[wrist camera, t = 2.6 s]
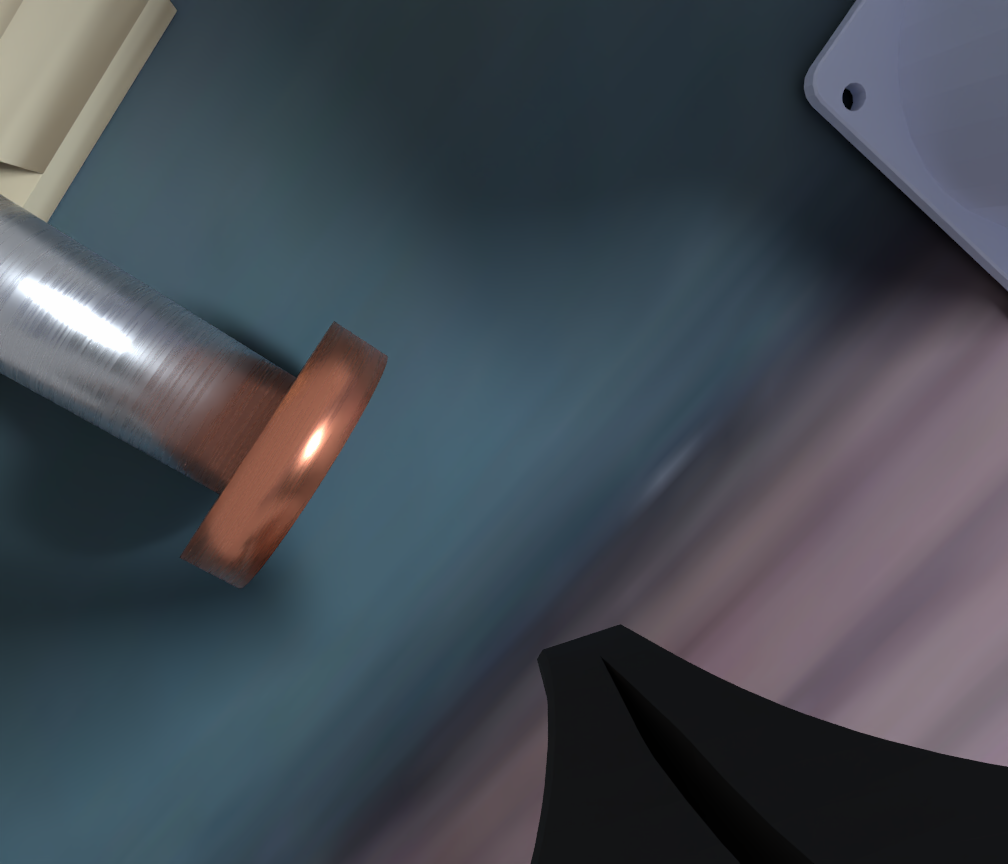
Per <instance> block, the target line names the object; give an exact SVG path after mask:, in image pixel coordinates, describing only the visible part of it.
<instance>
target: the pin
mask: <svg viewBox="0 0 1008 864" xmlns="http://www.w3.org/2000/svg"><path fill="white" fill-rule="evenodd" d="M386 363H387V356H386V355H385V354H383V353H382V352H380V351H379V350H377V349H376V348H374V347H373V346H371V345H370V344H368V343H367V342H365V341H363V340H362V339H360V338H359V337H357V336H356V335H354V334H353V333H351V332H350V331H348V330H347V329H345V328H344V327H342V326H341V325H339V324H338V323H336V322H333V323H332V325H331V326H330V328H329V329H328V331H327V332H326V334H325V335H324V337H323V338H322V340H321V341H320V343H319V344H318V346H317V347H316V349H315V350H314V352H313V353H312V355H311V356H310V358H309V359H308V361H307V362H306V364H305V365H304V367H303V368H302V370H301V371H300V373H299V374H298V376H297V377H294V376H293V375H291V374H290V373H288V372H286V371H285V370H283V369H281V368H280V367H278V366H277V365H275V364H273V363H272V362H270V361H269V360H267V359H265V358H264V357H262V356H261V355H259V354H257V353H256V352H254V351H252V350H251V349H249V348H248V347H246V346H244V345H243V344H241V343H240V342H238V341H236V340H235V339H233V338H232V337H230V336H228V335H227V334H225V333H223V332H222V331H220V330H219V329H217V328H215V327H214V326H212V325H211V324H209V323H207V322H206V321H204V320H203V319H201V318H199V317H198V316H196V315H194V314H193V313H191V312H190V311H188V310H186V309H185V308H183V307H182V306H180V305H178V304H177V303H175V302H174V301H172V300H170V299H169V298H167V297H165V296H164V295H162V294H161V293H159V292H157V291H156V290H154V289H153V288H151V287H149V286H148V285H146V284H145V283H143V282H141V281H140V280H138V279H136V278H135V277H133V276H132V275H130V274H128V273H127V272H125V271H124V270H122V269H120V268H119V267H117V266H116V265H114V264H112V263H111V262H109V261H108V260H106V259H104V258H103V257H101V256H99V255H98V254H96V253H95V252H93V251H91V250H90V249H88V248H87V247H85V246H83V245H82V244H80V243H79V242H77V241H75V240H74V239H72V238H70V237H69V236H67V235H66V234H64V233H62V232H61V231H59V230H58V229H56V228H54V227H53V226H51V225H50V224H48V223H46V222H45V221H43V220H41V219H40V218H38V217H37V216H35V215H33V214H32V213H30V212H29V211H27V210H25V209H24V208H22V207H21V206H19V205H17V204H16V203H14V202H12V201H11V200H9V199H8V198H6V197H4V196H3V195H1V194H0V373H1V374H3V375H5V376H7V377H9V378H10V379H12V380H14V381H16V382H18V383H19V384H21V385H23V386H25V387H27V388H28V389H30V390H32V391H34V392H36V393H38V394H39V395H41V396H43V397H45V398H47V399H48V400H50V401H52V402H54V403H56V404H57V405H59V406H61V407H63V408H65V409H66V410H68V411H70V412H72V413H74V414H75V415H77V416H79V417H81V418H83V419H85V420H86V421H88V422H90V423H92V424H94V425H95V426H97V427H99V428H101V429H103V430H104V431H106V432H108V433H110V434H112V435H113V436H115V437H117V438H119V439H121V440H122V441H124V442H126V443H128V444H130V445H132V446H133V447H135V448H137V449H139V450H141V451H142V452H144V453H146V454H148V455H150V456H151V457H153V458H155V459H157V460H159V461H160V462H162V463H164V464H166V465H168V466H169V467H171V468H173V469H175V470H177V471H179V472H180V473H182V474H184V475H186V476H188V477H189V478H191V479H193V480H195V481H197V482H198V483H200V484H202V485H204V486H206V487H207V488H209V489H211V490H213V491H215V492H216V493H218V494H220V495H219V497H218V498H217V500H216V501H215V503H214V504H213V506H212V507H211V509H210V511H209V512H208V514H207V515H206V517H205V518H204V520H203V521H202V523H201V524H200V526H199V528H198V529H197V531H196V532H195V534H194V535H193V537H192V538H191V540H190V542H189V543H188V545H187V546H186V548H185V549H184V551H183V553H182V554H181V556H180V557H179V558H181V559H183V560H185V561H187V562H189V563H191V564H193V565H195V566H197V567H199V568H201V569H203V570H204V571H206V572H208V573H210V574H212V575H214V576H216V577H218V578H220V579H222V580H224V581H226V582H228V583H230V584H231V585H233V586H235V587H237V588H239V589H241V588H243V587H244V586H245V585H247V584H248V583H249V582H250V580H251V579H252V578H253V577H254V576H255V575H256V574H257V573H258V571H259V570H260V569H261V568H262V566H263V565H264V564H265V563H266V561H267V560H268V559H269V557H270V556H271V555H272V553H273V552H274V551H275V549H276V548H277V547H278V545H279V544H280V542H281V541H282V540H283V538H284V537H285V535H286V534H287V533H288V531H289V530H290V528H291V527H292V525H293V524H294V522H295V521H296V520H297V518H298V517H299V515H300V514H301V512H302V511H303V509H304V508H305V506H306V505H307V503H308V502H309V500H310V499H311V497H312V495H313V494H314V492H315V491H316V489H317V488H318V486H319V485H320V483H321V481H322V480H323V478H324V477H325V475H326V474H327V472H328V470H329V469H330V467H331V466H332V464H333V462H334V461H335V459H336V457H337V456H338V454H339V453H340V451H341V449H342V448H343V446H344V444H345V443H346V441H347V439H348V438H349V436H350V434H351V432H352V431H353V429H354V427H355V425H356V424H357V422H358V420H359V418H360V417H361V415H362V413H363V411H364V409H365V408H366V406H367V404H368V402H369V400H370V398H371V396H372V394H373V392H374V390H375V388H376V386H377V384H378V382H379V380H380V378H381V376H382V374H383V371H384V369H385V366H386Z"/></svg>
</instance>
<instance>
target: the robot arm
mask: <svg viewBox="0 0 1008 864" xmlns="http://www.w3.org/2000/svg"><path fill="white" fill-rule="evenodd" d="M845 88H846V89H848V90H850V92H851V94H852V95H853V105H852V107H851V110H848V109H846V108H845V106H844V104H843V102H842V94H843V92H844V89H845ZM804 91H805V95H806V99H807V100H808V101H809V103H810V104H811V106H812V107H813V108H814V109H815V110H817V111H818V112H819V113H820V114H821V115H822V116H823V117H824V118H825V119H826V120H827V121H828V122H829V123H830V124H831V125H832V126H833V127H835V128H836V129H837V130H838V131H839V132H840V133H841V134H842V135H843V136H844V137H845V138H846V139H847V140H848V141H849V142H850V143H851V144H853V145H854V146H855V147H856V148H857V149H858V150H859V151H860V152H861V153H862V154H863V155H864V156H865V157H866V158H867V159H868V160H869V161H871V162H872V163H873V164H874V165H875V166H876V167H877V168H878V169H879V170H880V171H881V172H882V173H883V174H884V175H885V176H886V177H887V178H889V179H890V180H891V181H892V182H893V183H894V184H895V185H896V186H897V187H898V188H899V189H900V190H901V191H902V192H903V193H904V194H906V195H907V196H908V197H909V198H910V199H911V200H912V201H913V202H914V203H915V204H916V205H917V206H918V207H919V208H920V209H921V210H922V211H924V212H925V213H926V214H927V215H928V216H929V217H930V218H931V219H932V220H933V221H934V222H935V223H936V224H937V225H938V226H939V227H940V228H942V229H943V230H944V231H945V232H946V233H947V234H948V235H949V236H950V237H951V238H952V239H953V240H954V241H955V242H956V243H957V244H958V245H960V246H961V247H962V248H963V249H964V250H965V251H966V252H967V253H968V254H969V255H970V256H971V257H972V258H973V259H974V260H975V261H976V262H978V263H979V264H980V265H981V266H982V267H983V268H984V269H985V270H986V271H987V272H988V273H989V274H990V275H991V276H992V277H993V278H995V279H996V280H997V281H998V282H999V283H1000V284H1001V285H1002V286H1003V287H1004V288H1005V289H1006V290H1007V291H1008V0H856V1H855V3H854V4H853V6H852V7H851V9H850V10H849V12H848V13H847V14H846V16H845V17H844V19H843V20H842V22H841V23H840V25H839V26H838V27H837V29H836V30H835V32H834V33H833V35H832V36H831V38H830V39H829V40H828V42H827V43H826V45H825V46H824V48H823V49H822V51H821V52H820V53H819V55H818V56H817V58H816V59H815V61H814V62H813V64H812V65H811V66H810V68H809V70H808V72H807V74H806V76H805V81H804ZM537 660H538V664H539V668H540V672H541V676H542V680H543V684H544V688H545V691H546V695H547V701H548V751H547V764H546V776H545V787H544V795H543V803H542V809H541V816H540V822H539V827H538V832H537V838H536V843H535V848H534V852H533V856H532V860H531V864H1008V767H1006V766H1000V765H994V764H988V763H983V762H978V761H974V760H969V759H964V758H959V757H954V756H949V755H945V754H940V753H936V752H932V751H928V750H924V749H920V748H916V747H912V746H908V745H904V744H900V743H896V742H892V741H888V740H885V739H881V738H878V737H874V736H871V735H867V734H864V733H860V732H857V731H854V730H851V729H848V728H845V727H842V726H839V725H836V724H833V723H830V722H827V721H824V720H821V719H818V718H815V717H812V716H809V715H806V714H803V713H801V712H798V711H795V710H793V709H790V708H787V707H785V706H782V705H780V704H778V703H775V702H773V701H771V700H768V699H766V698H764V697H761V696H759V695H756V694H754V693H752V692H749V691H747V690H745V689H742V688H740V687H738V686H736V685H734V684H732V683H730V682H727V681H725V680H723V679H721V678H719V677H717V676H715V675H713V674H711V673H709V672H707V671H705V670H703V669H701V668H699V667H697V666H695V665H693V664H691V663H689V662H687V661H686V660H684V659H682V658H680V657H678V656H676V655H675V654H673V653H671V652H669V651H667V650H665V649H664V648H662V647H660V646H658V645H657V644H655V643H653V642H651V641H649V640H648V639H646V638H644V637H642V636H641V635H639V634H637V633H635V632H633V631H632V630H630V629H628V628H626V627H624V626H623V625H621V624H620V625H617V626H614V627H611V628H608V629H605V630H602V631H599V632H596V633H593V634H590V635H587V636H583V637H580V638H577V639H574V640H571V641H568V642H565V643H562V644H559V645H556V646H553V647H550V648H547V649H544V650H542V652H541V654H540V655H539V657H538V659H537Z"/></svg>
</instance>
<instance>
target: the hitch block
mask: <svg viewBox="0 0 1008 864" xmlns="http://www.w3.org/2000/svg"><path fill="white" fill-rule="evenodd" d="M176 12H177V10H176V9H175V7H174V6H173V4H172V3H171V2H170V0H0V194H1V195H3V196H4V197H6V198H8V199H9V200H11V201H12V202H14V203H16V204H17V205H19V206H21V207H22V208H24V209H25V210H27V211H29V212H30V213H32V214H33V215H35V216H37V217H38V218H40V219H41V220H43V221H45V222H46V223H47V222H48V220H49V219H50V217H51V215H52V214H53V212H54V210H55V209H56V207H57V206H58V204H59V202H60V201H61V199H62V197H63V196H64V194H65V193H66V191H67V189H68V188H69V186H70V184H71V183H72V181H73V180H74V178H75V176H76V175H77V173H78V171H79V170H80V168H81V166H82V165H83V163H84V162H85V160H86V158H87V157H88V155H89V153H90V152H91V150H92V149H93V147H94V145H95V144H96V142H97V140H98V139H99V137H100V136H101V134H102V132H103V131H104V129H105V127H106V126H107V124H108V123H109V121H110V119H111V118H112V116H113V114H114V113H115V111H116V110H117V108H118V106H119V105H120V103H121V101H122V100H123V98H124V97H125V95H126V93H127V92H128V90H129V88H130V87H131V85H132V83H133V82H134V80H135V79H136V77H137V75H138V74H139V72H140V70H141V69H142V67H143V66H144V64H145V62H146V61H147V59H148V57H149V56H150V54H151V53H152V51H153V49H154V48H155V46H156V44H157V43H158V41H159V40H160V38H161V36H162V35H163V33H164V31H165V30H166V28H167V27H168V25H169V23H170V22H171V20H172V18H173V17H174V15H175V14H176Z"/></svg>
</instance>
